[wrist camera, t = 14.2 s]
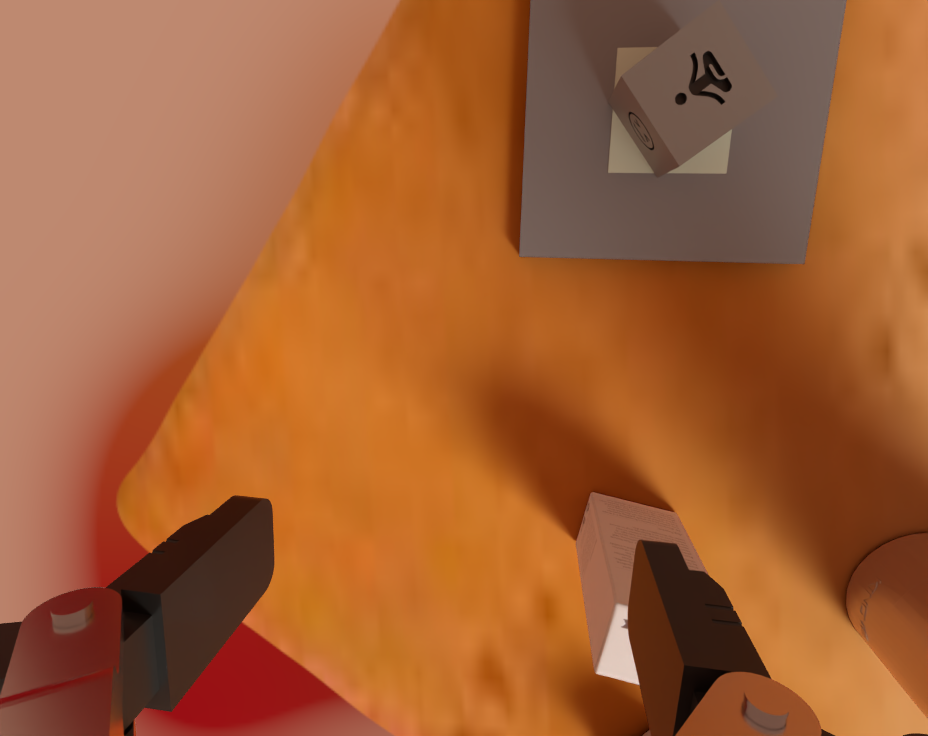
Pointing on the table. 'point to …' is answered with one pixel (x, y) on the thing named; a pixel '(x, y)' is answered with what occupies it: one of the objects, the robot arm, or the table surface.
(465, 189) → the table surface
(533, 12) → the plate
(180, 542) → the robot arm
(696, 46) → the dice cube
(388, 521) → the table surface
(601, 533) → the skincare box
